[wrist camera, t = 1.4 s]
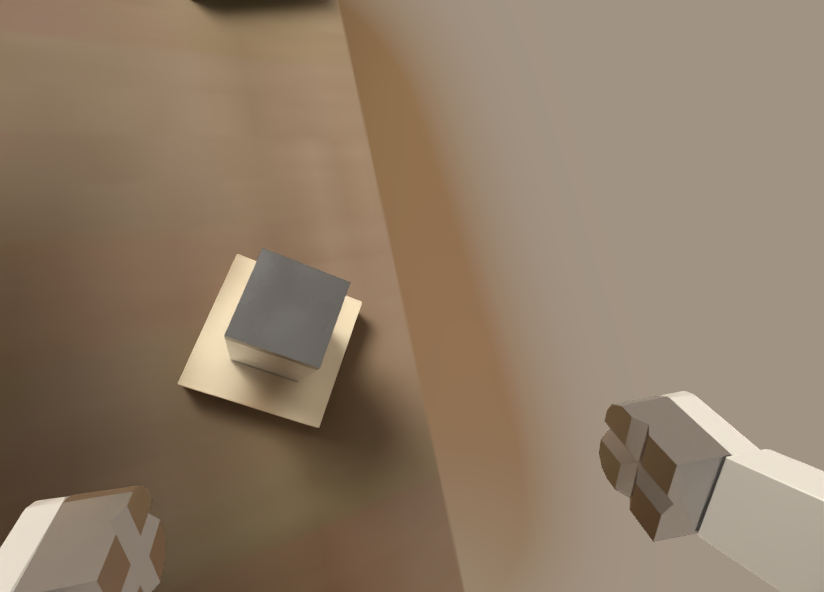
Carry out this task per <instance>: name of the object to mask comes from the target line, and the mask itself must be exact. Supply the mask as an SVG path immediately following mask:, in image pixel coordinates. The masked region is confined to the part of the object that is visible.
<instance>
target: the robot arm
mask: <svg viewBox="0 0 824 592" xmlns="http://www.w3.org/2000/svg"><path fill="white" fill-rule="evenodd" d="M605 422H606V423H607V425H608V426H609V428H610V429H609V431H608V432H607V433H606V434H605V435H604V436H603V437H602V439H601V443H600V450H599V455H600V460H601V465H602V468H603V471H604V473H605V475H606V477H607V479H608V480H609V482H610V483H611V484H612V486H613V487H614V489H615V490H617V491H619V492H620V493H622V494H624V495H626V496H628V497H629V498H630V511H631V512H632V513H633V515H634V516H635V517H636V519H637V520H638V522H639V523H640V524H641V526H642V527H643V528H644V530H645V531H646V532H647V533H648V535H649V536H650V538H651V539H652V540H653V541H654V542H655V541H660V540H665V539H670V538H675V537H680V536H686V535H691V534H696V533H698V537H700V538H701V539H703V540H704V541H706V542H707V543H709V544H710V545H712V546H713V547H715V548H716V549H718V550H719V551H721V552H722V553H724V554H725V555H727V556H728V557H730V558H731V559H733V560H734V561H736V562H737V563H739V564H741V565H742V566H743V567H745V568H746V569H748V570H749V571H751V572H752V573H754V574H755V575H756V576H758V577H759V578H761V579H762V580H764V581H765V582H767V583H768V584H770V585H771V586H773V587H774V588H776V589H777V590H779V591H780V592H824V471H822V470H819V469H817V468H814V467H812V466H809V465H807V464H804V463H801V462H799V461H797V460H794V459H792V458H789V457H787V456H784V455H782V454H779V453H777V452H774V451H772V450H769V449H765V450H760V449H758V448H757V447H756V446H755V445H753V444H752V443H751V442H750V441H749V440H748V439H746V438H745V437H744V436H743V435H741V434H740V433H739V432H738V431H737V430H736V429H734V428H733V427H732V426H731V425H729V423H727V422H726V421H725V420H724V419H723V418H721V417H720V416H719V415H718V414H717V413H716V412H714V411H713V410H712V409H711V408H710V407H708V406H707V405H706V404H705V403H704V402H702V401H701V400H700V399H699V398H697V396H695V395H694V394H692V393H689V392H687V391H682V392H676V393H671V394H665V395H661V396H655V397H650V398H644V399H638V400H633V401H627V402H622V403H617V404H612V405H611V406H610V407H609V409H608V410H607V413H606V418H605ZM152 501H153V500H152V498H151V496H150V494H149V492H148V489H147V487H146V486H142V485H136V486H129V487H122V488H116V489H109V490H102V491H95V492H88V493H82V494H75V495H71V496H66V497H59V498H52V499H45V500H38V501H35V502H34V503H32V504H31V505H30V506H28V507H27V508H26V509H25V510H24V511H23V513H22V514H21V516H20V517H19V519H18V521H17V522H16V524H15V525H14V527H13V528H12V530H11V532H10V533H9V535H8V536H7V538H6V540H5V541H4V543H3V544H2V546H1V547H0V592H152V591H153V590H154V589H155V587H156V586H157V585H158V584H159V583H160V581H161V577H162V573H163V569H164V565H165V555H166V539H165V533H164V529H163V526H162V523H161V521H160V519H158V518H156V517H154V516H152V515H151V514H149V510H150V507H151V504H152Z"/></svg>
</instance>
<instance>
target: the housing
mask: <svg viewBox="0 0 824 592" xmlns="http://www.w3.org/2000/svg"><path fill="white" fill-rule="evenodd" d="M350 283H351V282H348V281H346V280H343V279H341V278H338V277H336V276H333V275H331V274H328V273H325V272H323V271H320V270H318V269H315V268H313V267H310V266H308V265H305V264H302V263H300V262H297V261H295V260H292V259H290V258H287V257H285V256H282V255H280V254H277V253H274V252H272V251H269V250H267V249H264V248H262V250H261V252H260V255H259V257H258V259H257V262H256V264H255V266H254V268H253V271H252V273H251V275H250V278H249V280H248V282H247V284H246V287H245V289H244V291H243V294H242V296H241V298H240V300H239V303H238V305H237V307H236V310H235V312H234V314H233V316H232V319H231V321H230V323H229V326H228V328H227V330H226V332H225V335H224V337H225V341H226V345H227V348H228V352H229V356H230V360H231V361H234V362H237V363H240V364H243V365H246V366H249V367H252V368H255V369H258V370H261V371H264V372H267V373H270V374H273V375H276V376H279V377H282V378H285V379H288V380H291V381H294V382H299V381H301V380H302V379H304V378H305V377H307V376H309V375H310V374H312V373H313V372H315V371H316V370H318V369H320V367H321V364H322V361H323V358H324V355H325V353H326V350H327V347H328V344H329V341H330V339H331V336H332V333H333V330H334V327H335V325H336V322H337V319H338V316H339V313H340V311H341V308H342V305H343V302H344V299H345V297H346V294H347V291H348V288H349V285H350Z"/></svg>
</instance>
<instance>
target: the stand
mask: <svg viewBox="0 0 824 592" xmlns="http://www.w3.org/2000/svg"><path fill="white" fill-rule="evenodd" d="M256 262H257V261H254V260H252V259H249V258H247V257H244V256H241V255H239V254H237V255H236V257H235V259H234V261H233V263H232V266H231V268H230V270H229V272H228V274H227V277H226V279H225V281H224V283H223V285H222V287H221V290H220V292H219V294H218V296H217V298H216V301H215V303H214V305H213V307H212V309H211V312H210V314H209V316H208V318H207V320H206V323H205V325H204V327H203V329H202V331H201V333H200V336H199V338H198V340H197V342H196V344H195V347H194V349H193V351H192V353H191V355H190V358H189V360H188V362H187V364H186V366H185V369H184V371H183V373H182V375H181V377H180V379H179V382H178V384H179V385H181V386H183V387H186V388H189V389H193V390H196V391H199V392H202V393H206V394H209V395H212V396H215V397H218V398H222V399H225V400H228V401H231V402H234V403H238V404H241V405H244V406H247V407H251V408H254V409H257V410H260V411H263V412H267V413H270V414H273V415H276V416H280V417H283V418H286V419H289V420H292V421H296V422H299V423H302V424H305V425H309V426H312V427H316V428H319V426H320V424H321V421H322V418H323V415H324V412H325V409H326V406H327V403H328V400H329V397H330V394H331V391H332V389H333V386H334V383H335V380H336V377H337V374H338V371H339V368H340V365H341V362H342V359H343V356H344V354H345V351H346V348H347V345H348V342H349V339H350V336H351V333H352V330H353V327H354V324H355V321H356V319H357V316H358V313H359V310H360V307H361V304H362V302H361V301H358V300H356V299H353V298H351V297H348V296H346V297H345V299H344V302H343V305H342V308H341V311H340V313H339V316H338V319H337V322H336V325H335V327H334V330H333V333H332V336H331V339H330V341H329V344H328V347H327V350H326V353H325V355H324V358H323V361H322V364H321V367H320V369H318V370H316V371H315V372H313V373H312V374H310V375H309V376H307V377H305V378H304V379H302V380H301V381H299V382H294V381H291V380H288V379H285V378H282V377H279V376H276V375H273V374H270V373H267V372H264V371H261V370H258V369H255V368H252V367H249V366H246V365H243V364H240V363H237V362H234V361H231V360H230V356H229V352H228V348H227V345H226V341H225V337H224V335H225V332H226V330H227V328H228V326H229V323H230V321H231V319H232V316H233V314H234V312H235V310H236V307H237V305H238V303H239V300H240V298H241V296H242V294H243V291H244V289H245V287H246V284H247V282H248V280H249V278H250V275H251V273H252V271H253V268H254V266H255V264H256Z"/></svg>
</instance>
